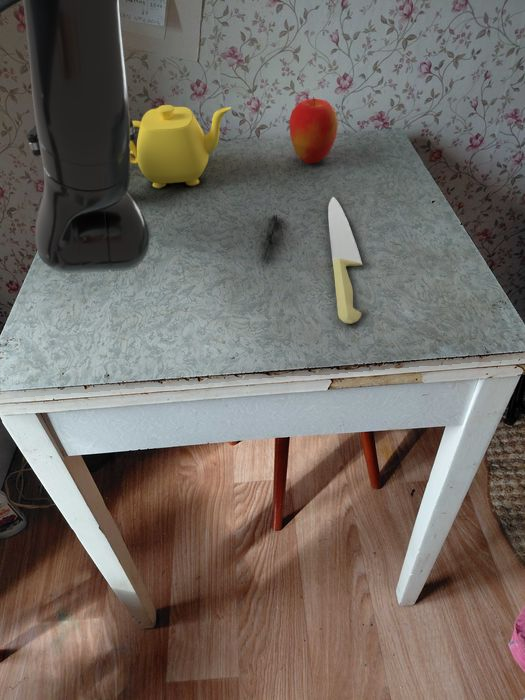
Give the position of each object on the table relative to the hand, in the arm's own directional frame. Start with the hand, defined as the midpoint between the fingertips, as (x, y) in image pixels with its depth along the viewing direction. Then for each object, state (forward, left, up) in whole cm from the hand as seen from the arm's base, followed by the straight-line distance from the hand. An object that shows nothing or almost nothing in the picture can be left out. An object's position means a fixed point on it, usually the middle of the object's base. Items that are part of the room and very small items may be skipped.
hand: (79, 110), depth 75 cm
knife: (+34, -19, -20) cm, 44 cm away
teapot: (+15, +15, -20) cm, 29 cm away
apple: (+40, +12, -20) cm, 46 cm away
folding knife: (+24, -12, -20) cm, 33 cm away
